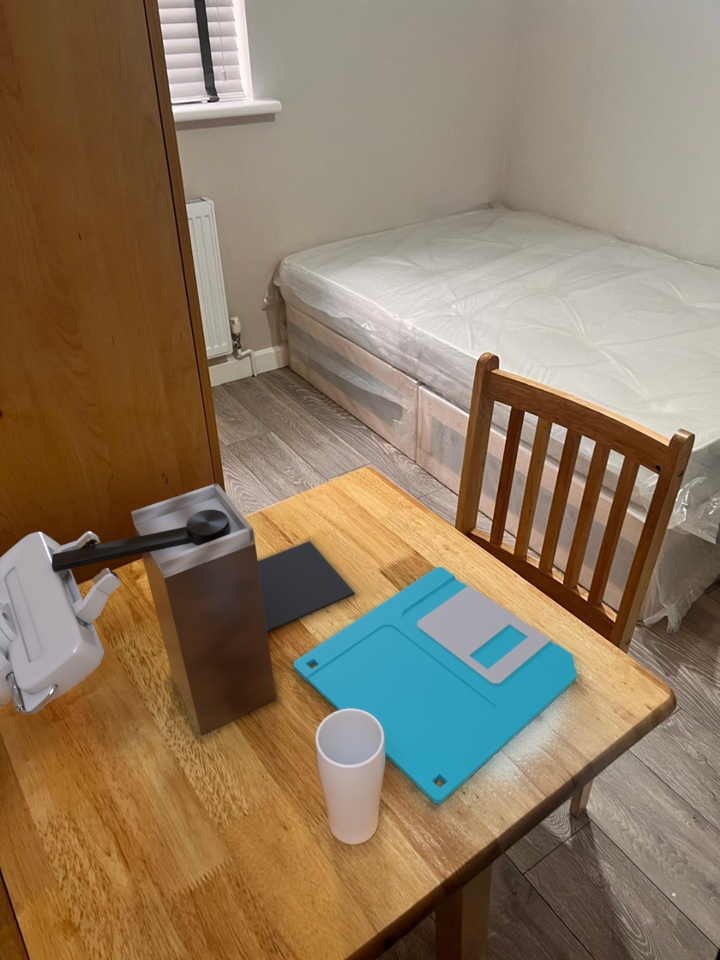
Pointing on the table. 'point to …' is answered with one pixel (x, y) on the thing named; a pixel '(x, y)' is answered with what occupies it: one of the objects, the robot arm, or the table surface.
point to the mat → (298, 585)
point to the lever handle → (148, 541)
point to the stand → (210, 610)
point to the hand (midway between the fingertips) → (105, 555)
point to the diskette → (440, 677)
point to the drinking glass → (351, 772)
